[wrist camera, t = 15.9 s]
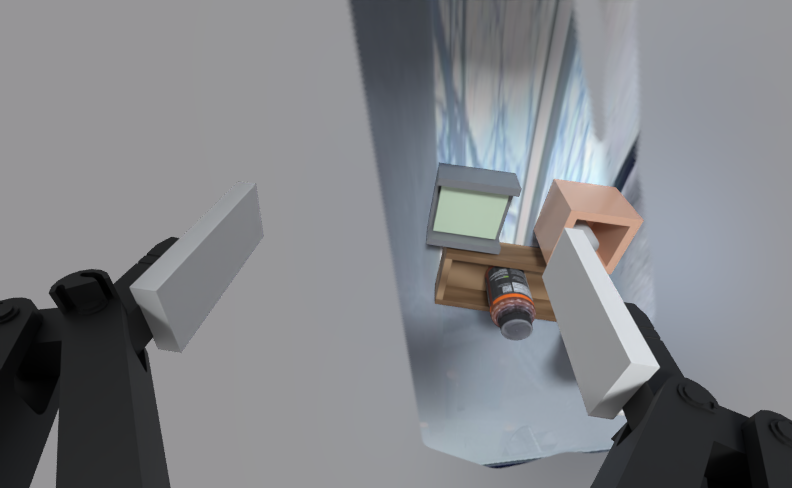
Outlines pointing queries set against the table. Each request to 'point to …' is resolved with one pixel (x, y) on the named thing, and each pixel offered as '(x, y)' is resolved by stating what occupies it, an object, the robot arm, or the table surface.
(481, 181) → the cradle base
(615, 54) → the table surface
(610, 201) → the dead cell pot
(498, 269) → the supplement bottle
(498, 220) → the pale green flat panel
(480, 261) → the trough
